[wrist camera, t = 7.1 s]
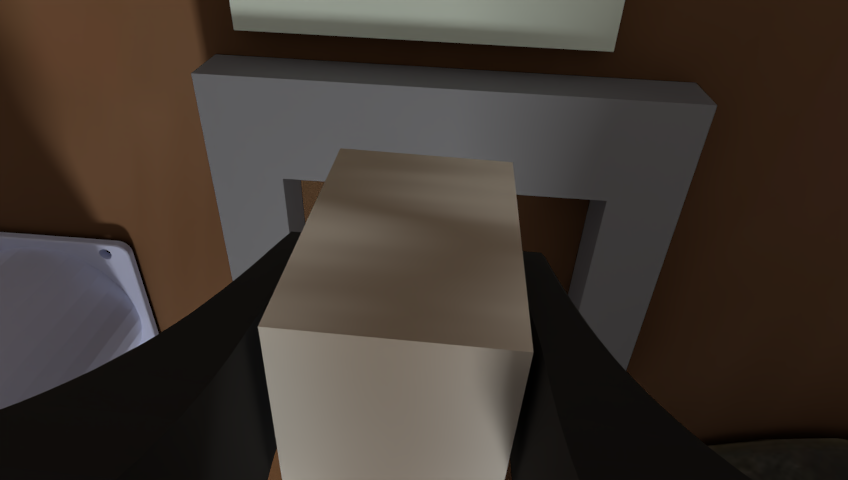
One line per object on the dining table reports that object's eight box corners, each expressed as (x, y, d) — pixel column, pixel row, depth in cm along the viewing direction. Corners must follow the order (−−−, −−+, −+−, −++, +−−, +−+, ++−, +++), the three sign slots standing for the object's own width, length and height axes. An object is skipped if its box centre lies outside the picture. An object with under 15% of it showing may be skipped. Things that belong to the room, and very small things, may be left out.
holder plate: (266, 348, 27) (252, 380, 26) (215, 54, 19) (191, 73, 18) (603, 376, 26) (612, 411, 25) (695, 82, 18) (717, 105, 17)
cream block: (345, 282, 15) (282, 484, 11) (340, 148, 13) (258, 326, 8) (492, 295, 15) (498, 506, 10) (512, 162, 13) (533, 351, 8)
